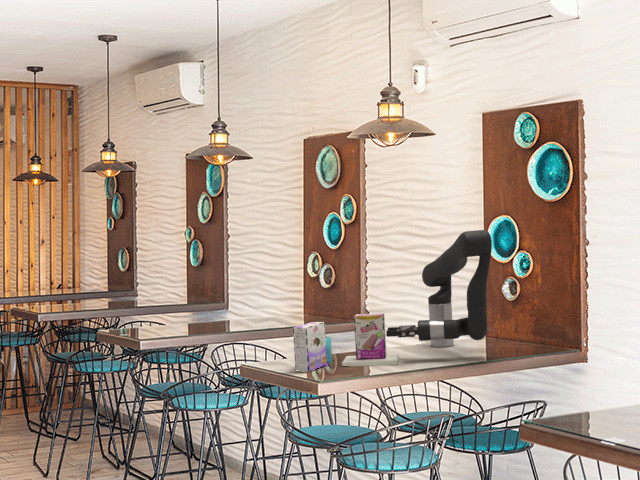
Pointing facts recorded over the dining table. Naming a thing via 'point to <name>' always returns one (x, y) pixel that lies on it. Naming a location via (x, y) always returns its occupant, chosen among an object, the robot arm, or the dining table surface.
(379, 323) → the candy bar box
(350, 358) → the plain white board
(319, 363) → the candy box
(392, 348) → the dining table surface
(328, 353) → the teal rounded cylinder
